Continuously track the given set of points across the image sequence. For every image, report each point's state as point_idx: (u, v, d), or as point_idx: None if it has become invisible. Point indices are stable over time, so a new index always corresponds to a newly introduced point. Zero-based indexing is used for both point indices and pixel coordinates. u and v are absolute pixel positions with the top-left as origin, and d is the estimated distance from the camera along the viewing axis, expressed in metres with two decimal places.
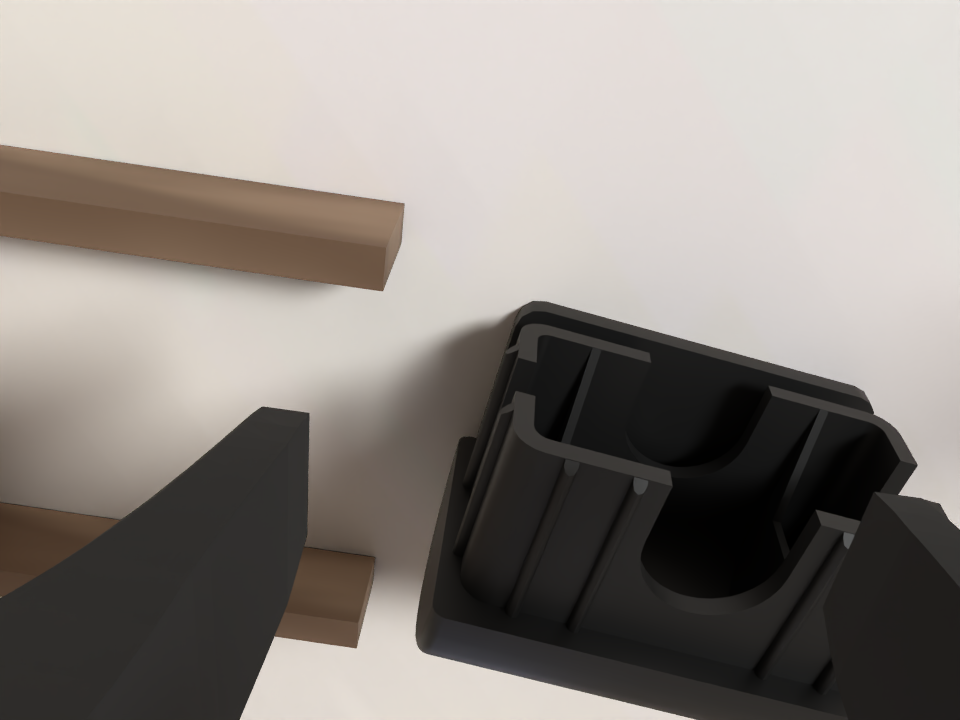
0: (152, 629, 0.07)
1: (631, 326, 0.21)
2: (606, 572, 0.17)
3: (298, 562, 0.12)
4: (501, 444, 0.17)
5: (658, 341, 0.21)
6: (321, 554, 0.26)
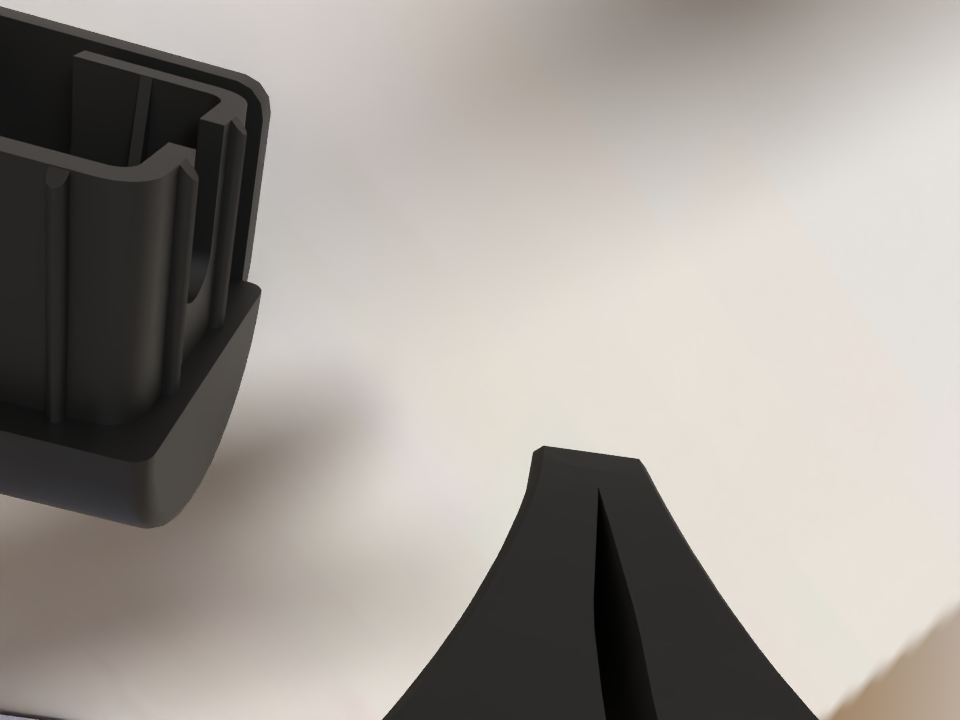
0: (598, 692, 0.07)
1: None
2: None
3: None
4: None
5: None
6: None
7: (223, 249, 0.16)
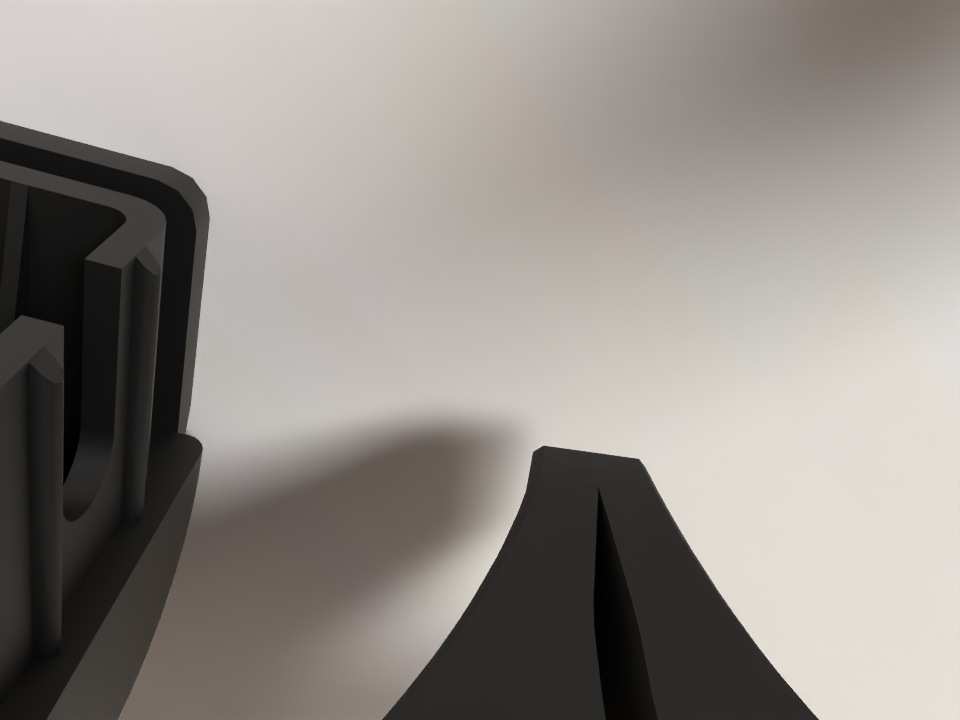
0: (597, 692, 0.07)
1: None
2: None
3: None
4: None
5: None
6: None
7: (135, 425, 0.11)
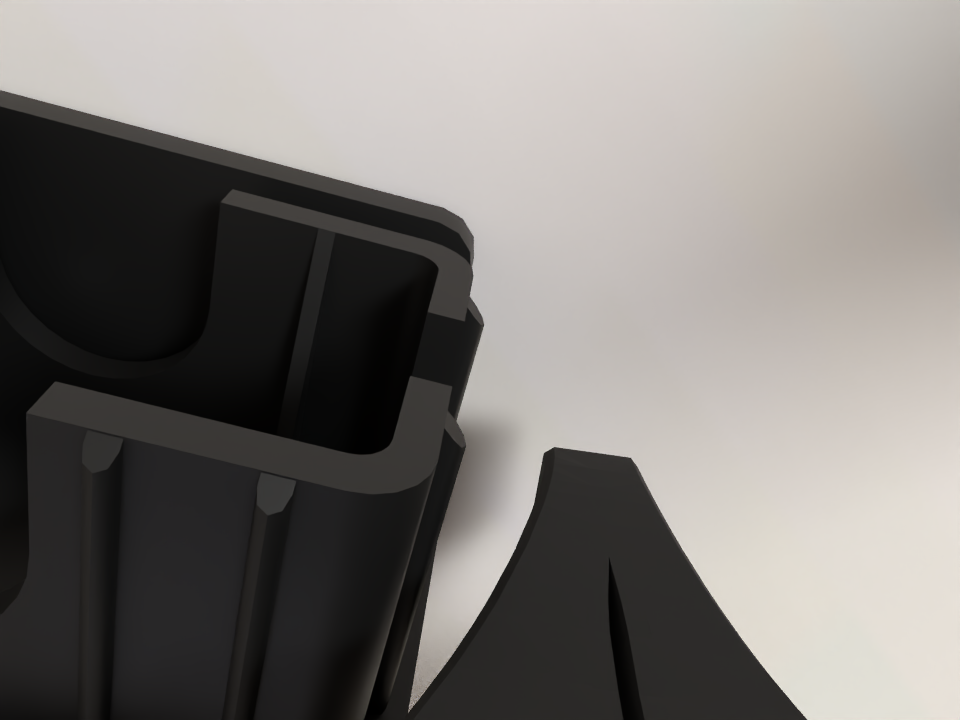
0: (615, 694, 0.07)
1: (10, 95, 0.11)
2: None
3: None
4: None
5: (45, 117, 0.11)
6: None
7: None
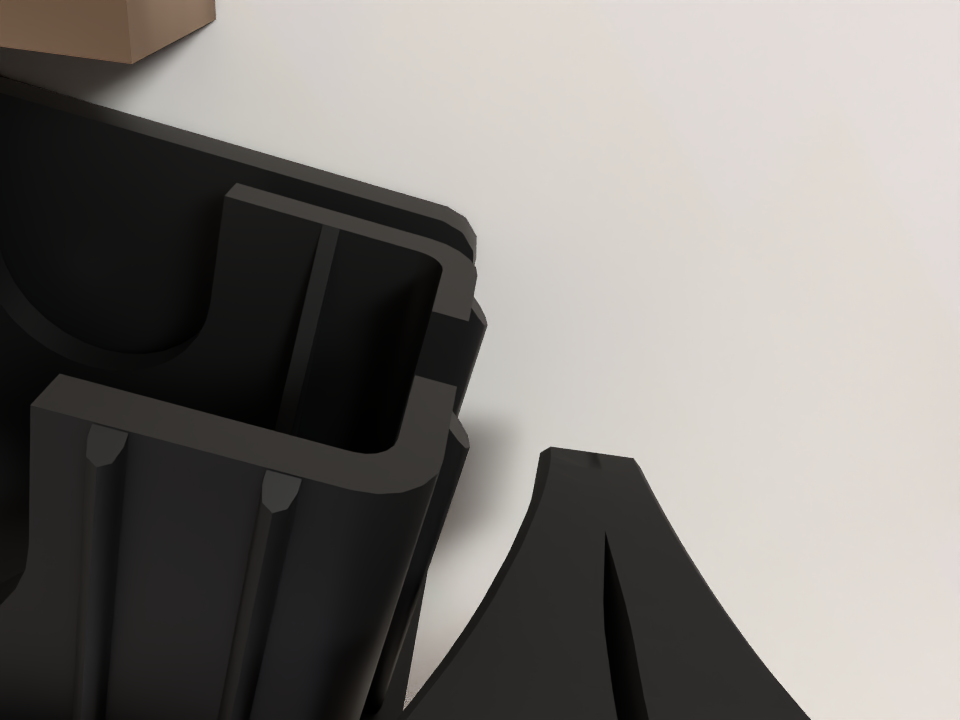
0: (609, 694, 0.07)
1: (12, 82, 0.11)
2: None
3: None
4: None
5: (48, 105, 0.11)
6: None
7: None
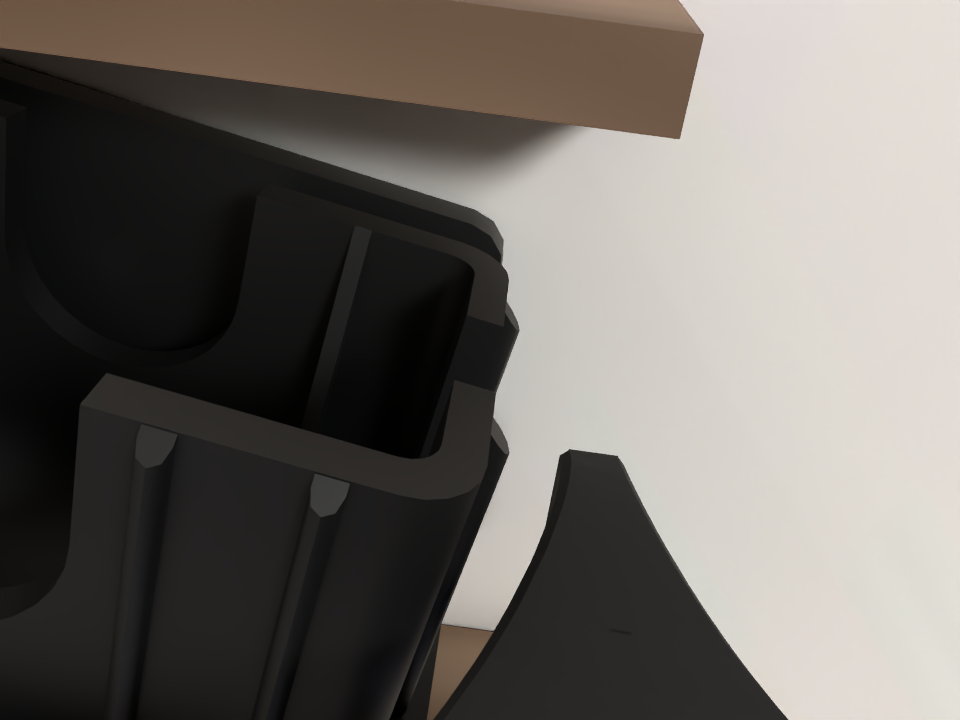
0: (640, 698, 0.07)
1: (42, 76, 0.11)
2: None
3: None
4: None
5: (79, 100, 0.11)
6: (452, 633, 0.16)
7: None
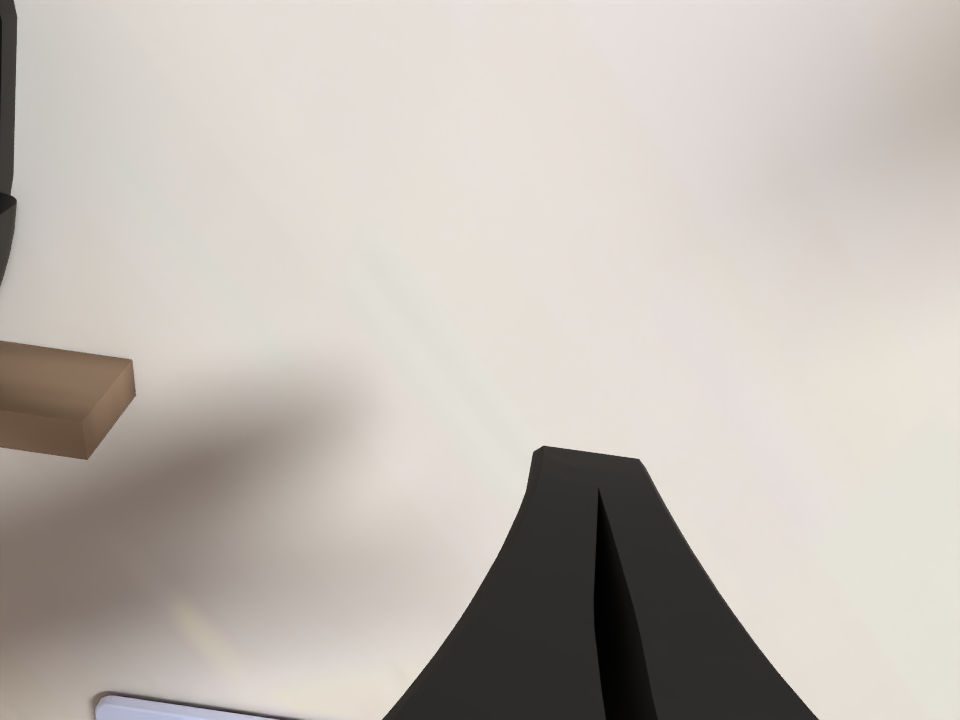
0: (598, 692, 0.07)
1: None
2: None
3: None
4: None
5: None
6: (62, 354, 0.20)
7: None
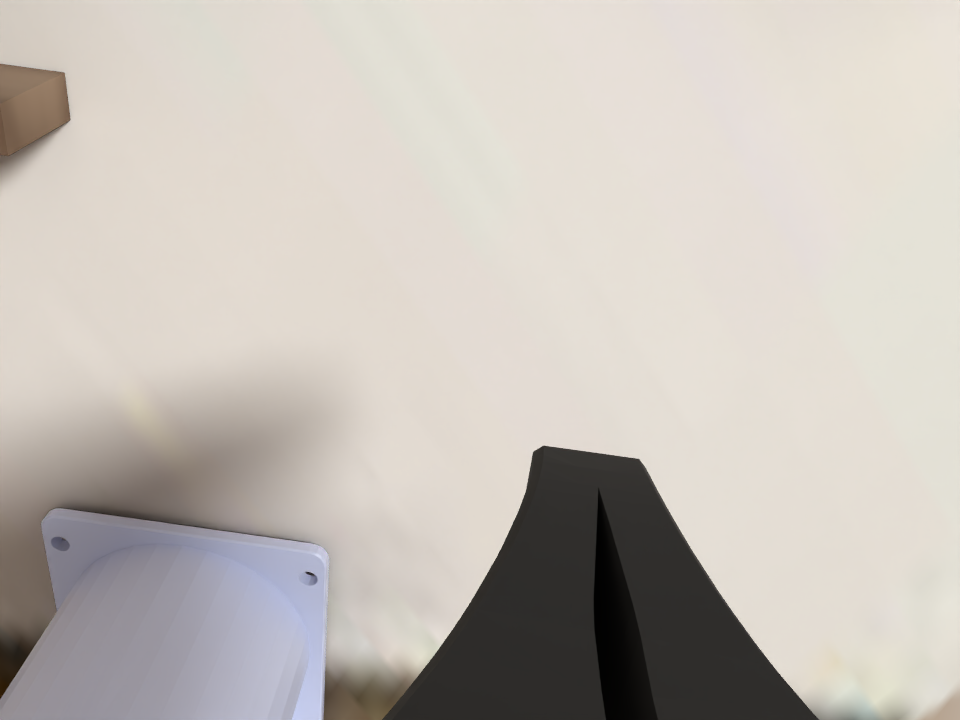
0: (598, 692, 0.07)
1: None
2: None
3: None
4: None
5: None
6: None
7: None
